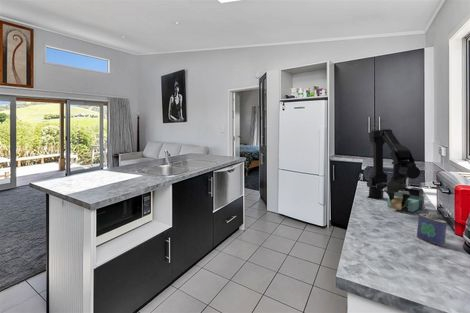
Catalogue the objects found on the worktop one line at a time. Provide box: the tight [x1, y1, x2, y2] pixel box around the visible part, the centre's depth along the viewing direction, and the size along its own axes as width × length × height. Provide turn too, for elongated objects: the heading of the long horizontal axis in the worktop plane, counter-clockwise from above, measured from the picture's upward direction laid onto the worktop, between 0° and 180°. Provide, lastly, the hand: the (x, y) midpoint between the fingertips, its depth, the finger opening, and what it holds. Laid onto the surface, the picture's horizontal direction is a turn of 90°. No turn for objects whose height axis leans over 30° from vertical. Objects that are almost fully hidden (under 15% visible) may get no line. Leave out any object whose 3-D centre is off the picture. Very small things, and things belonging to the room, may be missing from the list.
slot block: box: [386, 196, 420, 213], centre depth 124 cm, size 11×8×4 cm
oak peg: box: [390, 196, 406, 211], centre depth 121 cm, size 4×10×4 cm, turn 132°
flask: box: [416, 212, 448, 248], centre depth 87 cm, size 9×3×11 cm, turn 15°
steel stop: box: [394, 191, 426, 211], centre depth 127 cm, size 14×4×7 cm, turn 35°
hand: (397, 205), depth 120 cm, fingers closed on oak peg, 4 cm apart
